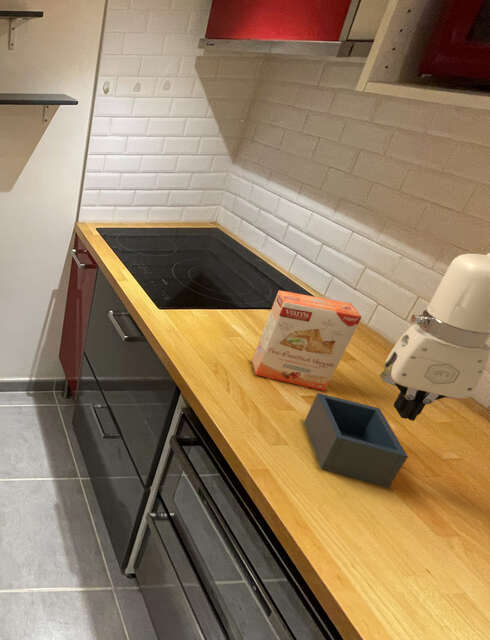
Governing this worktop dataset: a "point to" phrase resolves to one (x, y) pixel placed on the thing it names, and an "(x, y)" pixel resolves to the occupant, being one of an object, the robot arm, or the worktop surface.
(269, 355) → the cracker box
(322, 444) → the grey open box
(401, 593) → the worktop surface
